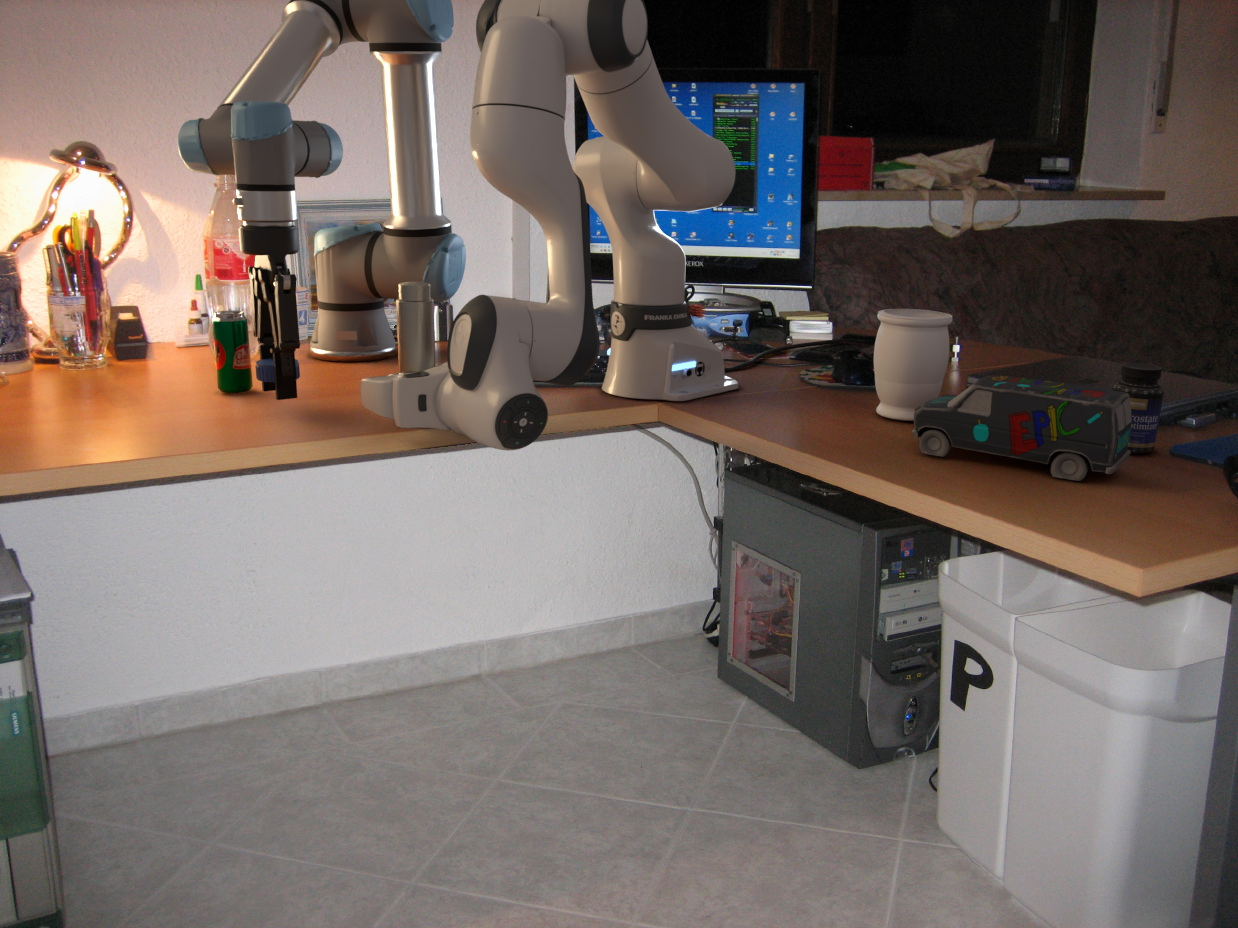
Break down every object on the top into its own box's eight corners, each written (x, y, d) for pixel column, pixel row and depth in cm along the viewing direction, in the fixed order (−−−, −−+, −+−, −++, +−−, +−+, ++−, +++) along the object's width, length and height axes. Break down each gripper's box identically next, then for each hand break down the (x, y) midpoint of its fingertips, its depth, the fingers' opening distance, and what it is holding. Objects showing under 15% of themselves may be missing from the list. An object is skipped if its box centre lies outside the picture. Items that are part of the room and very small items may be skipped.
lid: (281, 372, 152) (280, 356, 151) (308, 377, 149) (307, 361, 148) (247, 378, 147) (246, 362, 146) (275, 384, 144) (273, 367, 143)
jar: (854, 409, 159) (862, 309, 155) (910, 404, 163) (920, 306, 159) (898, 426, 150) (909, 320, 146) (957, 420, 154) (969, 317, 150)
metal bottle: (416, 427, 145) (411, 286, 140) (393, 421, 148) (387, 283, 143) (444, 421, 149) (440, 283, 143) (421, 415, 152) (416, 280, 146)
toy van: (934, 435, 146) (942, 362, 143) (1130, 468, 132) (1143, 388, 129) (905, 451, 137) (912, 375, 134) (1110, 488, 123) (1124, 404, 121)
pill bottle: (1117, 454, 138) (1130, 370, 135) (1094, 442, 144) (1106, 361, 140) (1163, 454, 138) (1177, 370, 135) (1139, 442, 144) (1152, 361, 141)
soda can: (241, 395, 161) (235, 315, 157) (211, 393, 162) (204, 314, 158) (259, 388, 165) (253, 311, 162) (229, 386, 166) (223, 309, 163)
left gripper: (220, 220, 147) (233, 384, 154) (260, 228, 133) (272, 410, 139) (275, 219, 152) (285, 380, 158) (319, 227, 137) (328, 404, 143)
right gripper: (530, 364, 141) (481, 347, 152) (385, 380, 130) (343, 361, 141) (530, 410, 143) (481, 391, 154) (387, 430, 132) (345, 407, 142)
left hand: (279, 394), depth 148 cm, fingers closed on lid, 6 cm apart
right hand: (414, 377), depth 147 cm, fingers closed on metal bottle, 5 cm apart
